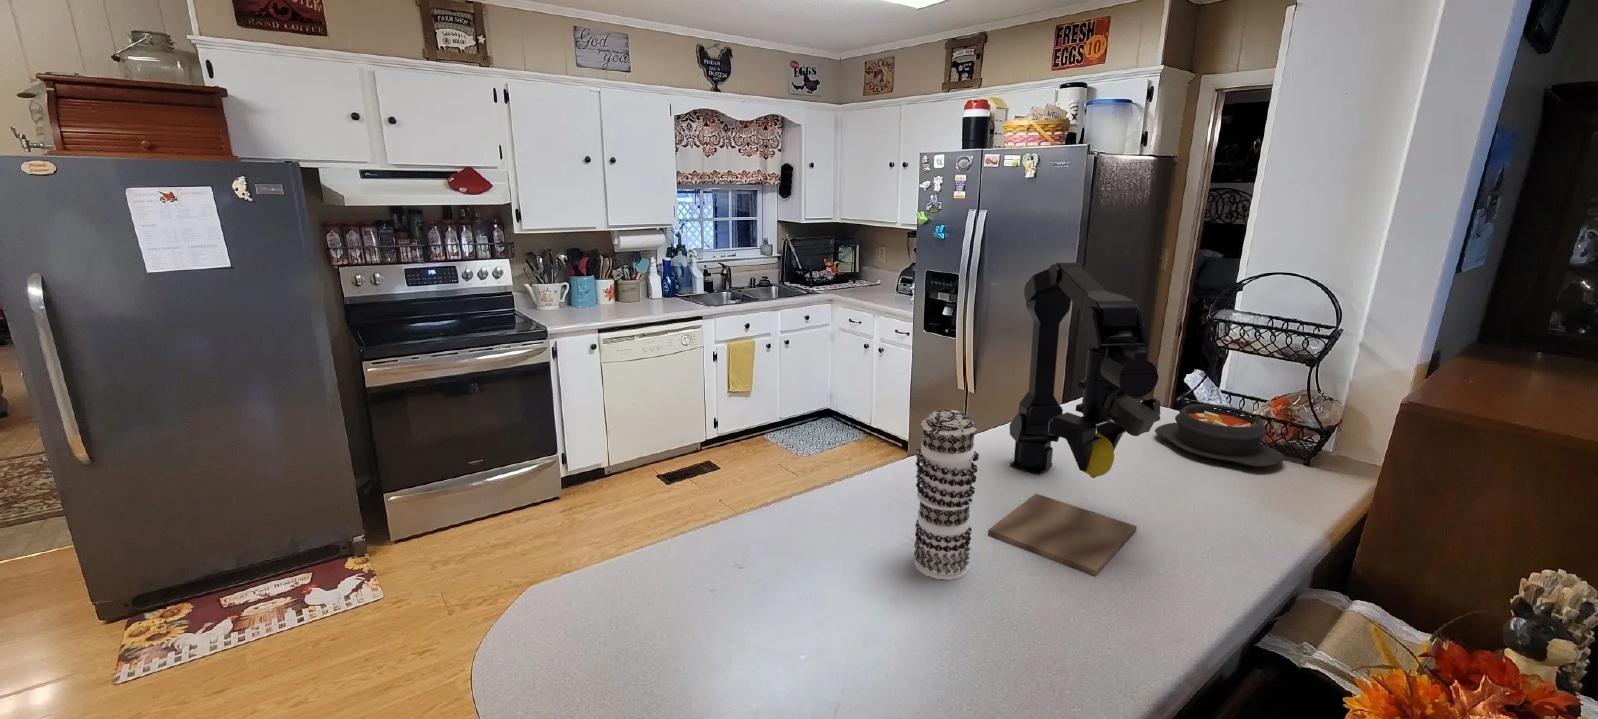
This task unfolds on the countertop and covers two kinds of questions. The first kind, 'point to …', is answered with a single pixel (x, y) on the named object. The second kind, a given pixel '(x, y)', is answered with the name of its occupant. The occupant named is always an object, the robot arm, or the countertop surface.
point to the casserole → (1221, 435)
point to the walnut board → (1064, 533)
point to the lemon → (1100, 457)
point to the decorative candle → (945, 494)
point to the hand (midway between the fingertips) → (1093, 466)
